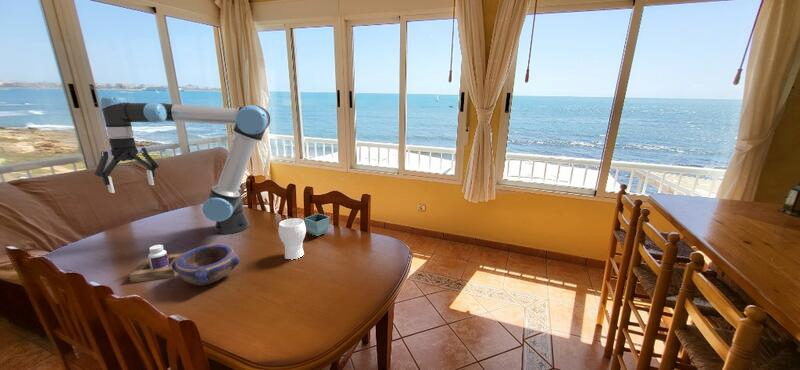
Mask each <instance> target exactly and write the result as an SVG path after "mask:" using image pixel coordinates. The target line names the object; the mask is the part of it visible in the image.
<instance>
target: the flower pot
mask: <svg viewBox="0 0 800 370" xmlns="http://www.w3.org/2000/svg"><path fill="white" fill-rule="evenodd" d="M330 218H331V217H330V216H328V215H324V214H323V213H322V214H321V213H316V214H312V215H310V216H307V217H304V219H303V220H304V223H305V226H306V231H307V232H308V233H309V235H310V234H312V235H311V236H313V235H315V236H319V235H321V234H324V233H325V234H326V233H327V231H328V230H329V227H330V220H331V219H330ZM325 234H324V235H325ZM315 236H314V237H315ZM319 237H320V236H319Z"/></svg>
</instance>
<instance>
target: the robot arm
mask: <svg viewBox="0 0 800 370" xmlns="http://www.w3.org/2000/svg"><path fill="white" fill-rule="evenodd" d="M100 107H101V112H102V116H103V120H104V124H105V128H106V133H107V136H108V137H109V139H108V141H109V145H110V151H105V150H102V151H100V156H101V157H100V159H99V162H98V165H97V167H96V170H95V172H94V176H96V177H100V178H102V181H103V185H105V186H107V189H108V192H109V193H110V194H115V193H116V192H115V188H114V187H115V186H114V184H113V178H112V176H110V174H111V173H112V172H113V170H114V169H115V168H116V166H118V164H119V163H120V162H126V161H136V162H137V163H139V164H140V165H142V166H143V167H145V168H146V169H147V170H145V172H146V177H147V181H148V184H149V186H155V181H154V178H155V177H156V174H155V170H156V169H158V168H159V165H158V164H157V162H156V161H155V160H154V159H153V158H152V156H150V153H148V151H147V149H146V148H145V147H139V148H137V146H136V139H135V138H134V131H133V127H132V123H154V124H155V123H164V122H180V123H196V124H197V123H198V124H211V125H213V124H214V125H216V124H217V125H229V126H230V125H231V126H232V125H233V126H234V127H233V133H234V135H235V136H234V139H233V141H232V144H231V146H230V150H229V152H228V155H227V158H226V161H225V163H224V165H223V168H222V171H221V173H220V176H219V179H218V180H217V181H218V182H217V184H215V185H212V187H211V189H210V192H209V194H208V197H207V199H206V200H204V202H203V204H202V213H203V215H204V216H205V217H206V218H207V219H209V220H210V221H213V222H215V224H214V230H215V233H217V234H219V235H220V234H221V235H230V234H235V233H236V234H237V233H239V232H242V230H243V231H245V230H247V229H248V228H249V227H250V222H249V219H248V218H247V216H246V214H245V213H244V205H243V196H242V189H241V184H242V181H243V178H244V175H245V173H246V171H247V168H248V166H249V163H250V160H251V157H252V155H253V153H254V150H255V147H256V145H257V143H259V142H261V141H262V139H263V137H264V134H265V132H266V130H267V128H268V127H269V126H270V123H271V115H270V113H269V111H268V110H267V109H266V108H264V107H263V106H260V105H252V104H251V105H245V106H238V107H236V108H233V107H217V106H202V105H190V104H177V103H164V102H157V103H156V102H128V101H127V99H126V98H125V97H116V96H115V97H113V96H109V97H108V96H107V97H106V96H105V97H101V98H100ZM138 153H140V154H141V155H142V156H143V157H144V158H145V160H146V161H147V162H148V163H147V162H146V161H145V160H143V159H142V158H141V157H140V156H138V155H137V154H138ZM111 156H113V158H112V159H111V161H110V163H109V164H108V165H107V163H108V160H109V158H110V157H111ZM106 165H107V166H106ZM248 226H249V227H248ZM246 228H247V229H246Z"/></svg>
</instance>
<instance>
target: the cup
mask: <svg viewBox="0 0 800 370" xmlns="http://www.w3.org/2000/svg"><path fill="white" fill-rule="evenodd" d="M277 232H278V237H279V239H280V240H281V242H282V243H283V245H284V251H285V252H284V259H286V260H287V259H291V260H290V261H294V260H293V259H296V260H299V259H301V258H300V257H302V256H303V255H305V252H304V249H303V245H304V244H303V241H304V239H305V237H306V233H307V228H306V225H305V220H304V219H302V218H298V217H297V218H296V217H294V218H287V219H284V220H281V221H280V222H279V223H278V231H277ZM303 257H304V256H303ZM303 257H302V258H303ZM298 258H299V259H298Z"/></svg>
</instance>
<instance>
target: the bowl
mask: <svg viewBox="0 0 800 370" xmlns="http://www.w3.org/2000/svg"><path fill="white" fill-rule="evenodd" d="M184 253H185V254H183V255H182V256H180V257H179V258H177V259H176V260H175V261H174V262H173V263H172V268H173V269H174V270H175V271H176V272H178V273H177V275H179V277H180V278H181V280H183V281H185V282H186V283H188V284H191V285H196V286H207V285H209V284H210V285H211V284H213V283H215V282H219V281H221V280H222V278H225V277H226V276H227V275H229V273H230V272H231V271H232V270H234V268H236V267H237V266H238V265H239V264H240V262H241V260H240V258H241V257H240V255H238V254H237V253H236V252H235V251H234V249H233V248H232V247H230V246H228V245H226V244H220V243H212V244H206V245H202V246H198V247H195V248H193V249H190V250H188V251H186V252H184Z"/></svg>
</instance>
